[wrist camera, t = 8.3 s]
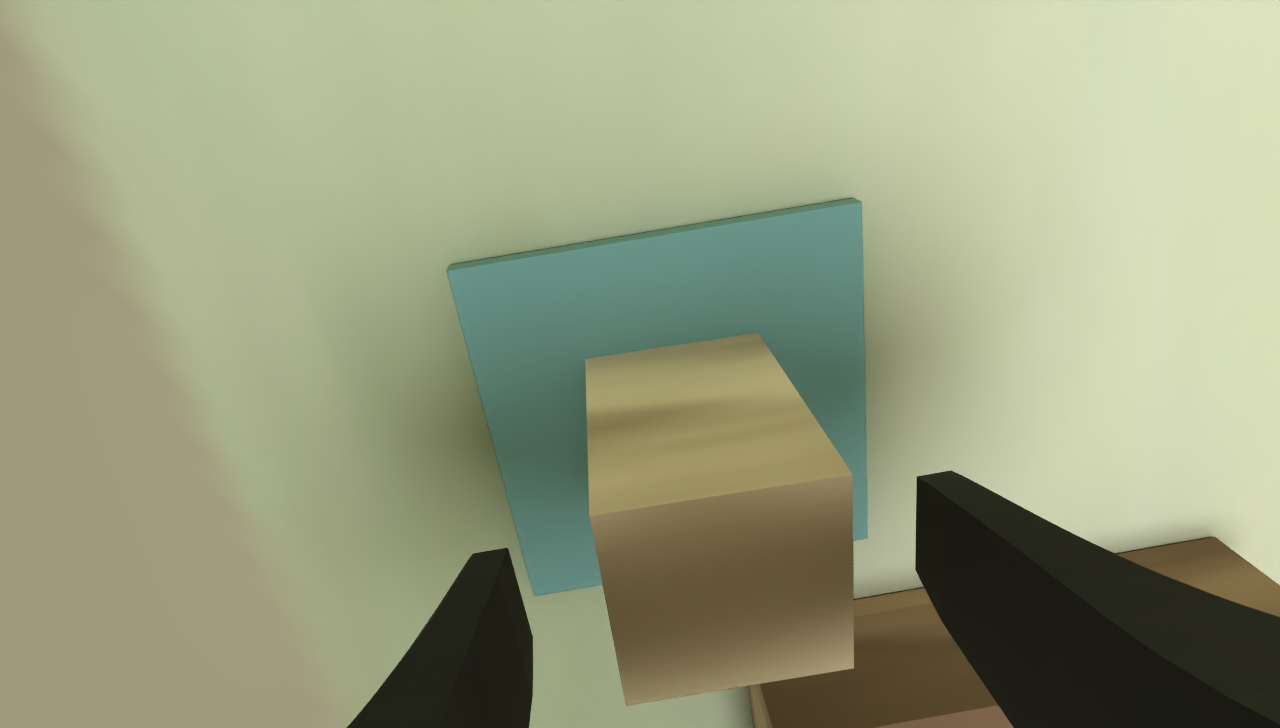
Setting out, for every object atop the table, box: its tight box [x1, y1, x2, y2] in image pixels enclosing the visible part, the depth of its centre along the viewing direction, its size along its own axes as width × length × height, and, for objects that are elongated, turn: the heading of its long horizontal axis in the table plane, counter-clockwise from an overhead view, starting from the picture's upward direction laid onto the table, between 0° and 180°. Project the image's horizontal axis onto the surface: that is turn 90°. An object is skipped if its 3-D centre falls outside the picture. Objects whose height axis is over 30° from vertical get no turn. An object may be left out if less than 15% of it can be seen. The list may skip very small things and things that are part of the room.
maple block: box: [585, 333, 854, 706], centre depth 14 cm, size 4×4×6 cm
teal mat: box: [447, 198, 868, 596], centre depth 17 cm, size 9×9×1 cm
